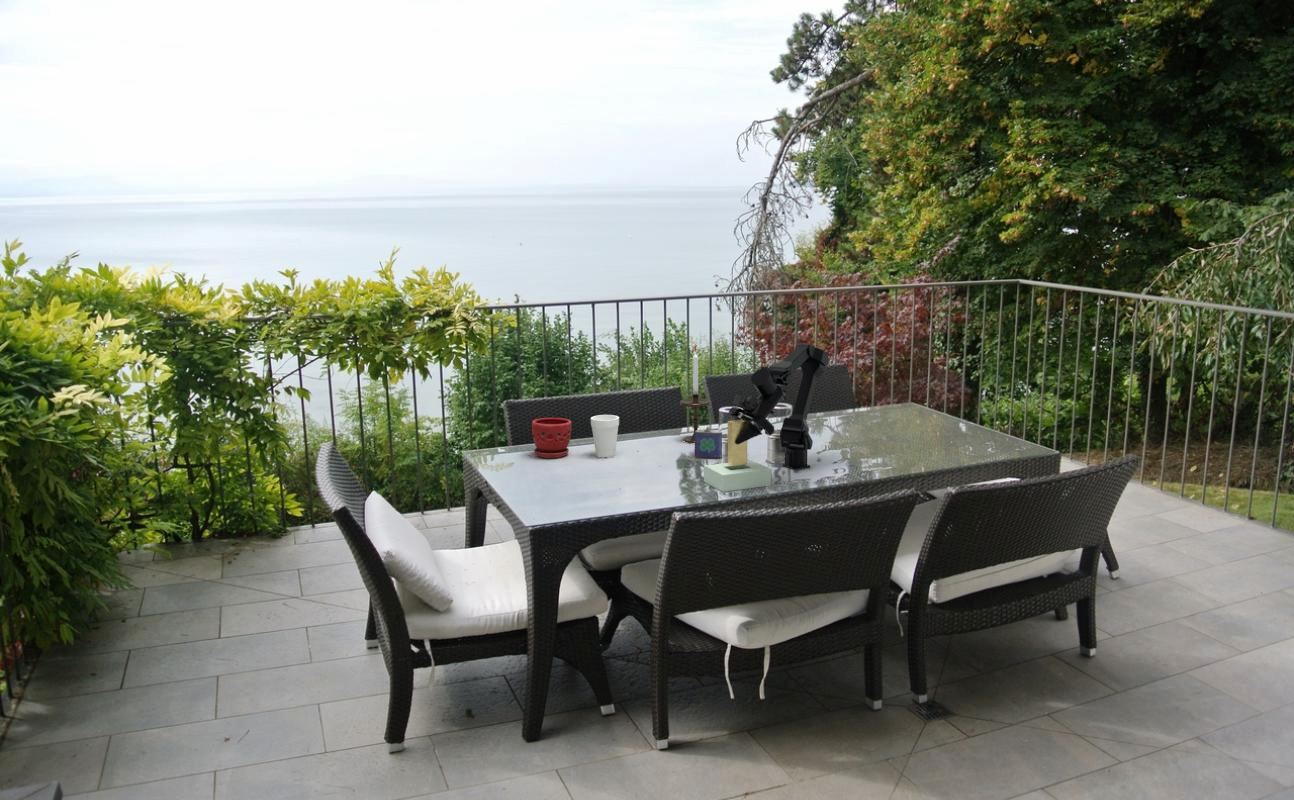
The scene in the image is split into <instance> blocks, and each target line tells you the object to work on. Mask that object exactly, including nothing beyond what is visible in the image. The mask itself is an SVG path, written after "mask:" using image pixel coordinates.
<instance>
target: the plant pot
mask: <svg viewBox="0 0 1294 800" xmlns="http://www.w3.org/2000/svg"><path fill="white" fill-rule="evenodd" d="M531 432H532V439H533V442H534V445H535V447H536V448H535V449H534V450H533V452H534V455H536V456H538V457H540V458H542V459H556V458H562V457H564V456H566V455H567V454H569V451H570V449H569V448H568V446H569V443H570V441H571V437H572V436H571V435H572V421H571V419H567V418H563V417H562V418H561V417H543V418H542V417H541V418H537V419H534V420H532V421H531ZM543 433H544V435H543Z"/></svg>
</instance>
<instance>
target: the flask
mask: <svg viewBox="0 0 1294 800" xmlns="http://www.w3.org/2000/svg"><path fill="white" fill-rule="evenodd" d="M711 427H712V426H710V425H709V426H707V425H706V429H704V428H702V429H701V428H700V429H698V430H697V431H695V444H694V458H696V459H703V460H704V459H709V460H714V459H715V460H719V459H720V458H721V459H722V458H723V432H722V431H721V430H716V431H714V430H711Z"/></svg>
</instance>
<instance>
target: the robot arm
mask: <svg viewBox="0 0 1294 800" xmlns="http://www.w3.org/2000/svg"><path fill="white" fill-rule="evenodd" d="M829 361H830V357H829V355H828V353H827V352H826V351H825V350H822V349H820V348H817V347H816V346H814V345H813V344H811V343H797V344H796V346H795V347H794V349H793V350H792V351H791V352H790V353H789V354H788V355H786V357H785V358H784V359H783V360H782V361H780V362H775V363H773V364H771V365H769V366H761V367H760V369H759V370H758V369H757V370H756V371H755V372H754V373H753V374H752V375H751V378H750V382H751V383H752V385H753V386H754V388H755V389H756V391H757V393H758V394H759V396H758V397H757V398H756V397H753V396H749V395H748V397H744V396H741V395H739V394H735V397H734V400H733V401H732V405H733V406H732V407H731V408H730V409H729V411H728V413H729V414H730V415H731V416H732V417H733V418H734V420H741V419H743V420H745V428H744V429H743V431H742V432H741V434H740V435H739V436H738V438H737V440H736V441H735V443H736V444H737V445H738V444H740V443H742V442H745V441H747V442H748V440H751V439H753V438H755V437H758V436H762V435H763V433H762V431H763V430H764V434H765V435H767V436H769V437H771V436H772V435H773V434H774V433H775V426H774V425H773V424H772V423H771V422H770V420H769V419H767V418H768V417H769V415H771V416H773V415H774V414H775V411H773V410H774V408H776V407H777V405H778V404H779V402H780V401H781V400H783V401H786V400H787V390H785V389H783V388H782V387H784V386H785V387H788V386H790V384H791V383H792V382H793V380H794V379H795V376H794V375H795V374H794V373H795V372H796V371H797V370H798V369H799V368H800V370H801V372H802V375H801V379H800V383H799V387H798V389H797V390H798V391H797V393H796V398H795V401H794V404H793V407H792V412H791V414H790V416H789V417H784V419H783V421H782V426H781V428H780V431H779V440H780V445H781V448H785V452H784V463H783V462H782V466H784V467H785V468H786V467H787V468H789V469H792V470H800V469H805V468H810V467H811V464H808V450H812V447H813V439H812V437H811V435H810V434H809V432H810V428H809V424H808V422H807V420H808V415H809V411H810V408H811V404H812V400H813V396H814V393H815V388H816V386H817V385H816V384H817V380H818V379H819V378H820V377H822V375H823V374H824V373H825V372H826V369H827V366H828V365H829ZM781 386H782V387H781ZM780 403H781V402H780Z"/></svg>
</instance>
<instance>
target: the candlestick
mask: <svg viewBox="0 0 1294 800" xmlns="http://www.w3.org/2000/svg"><path fill="white" fill-rule="evenodd" d="M693 350H694V353H693V355H692V392H690V394H689V395H691V396H692V397H691V398H689V397H688V398H683V399H681V400H680V402H679V403H680V406H683V407H689V408H692V409H693V418H692V419H691V422H692V424H693V426H691V427H692V428H693V434H692V435H687V436H684V437H683V438H682V441H685V442H688V443H687V444H691V443H695V431H697V430H699V428H700V426H699V422H700V418H699V417H698V410H699V409H700V408H702V407H708V406H711V405H712V401H711V399H708V398H701V397H699V396H700V395H702V393H701V392H699V356H698V355H697V344H696V343H694V348H693ZM685 442H684V443H685Z"/></svg>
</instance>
